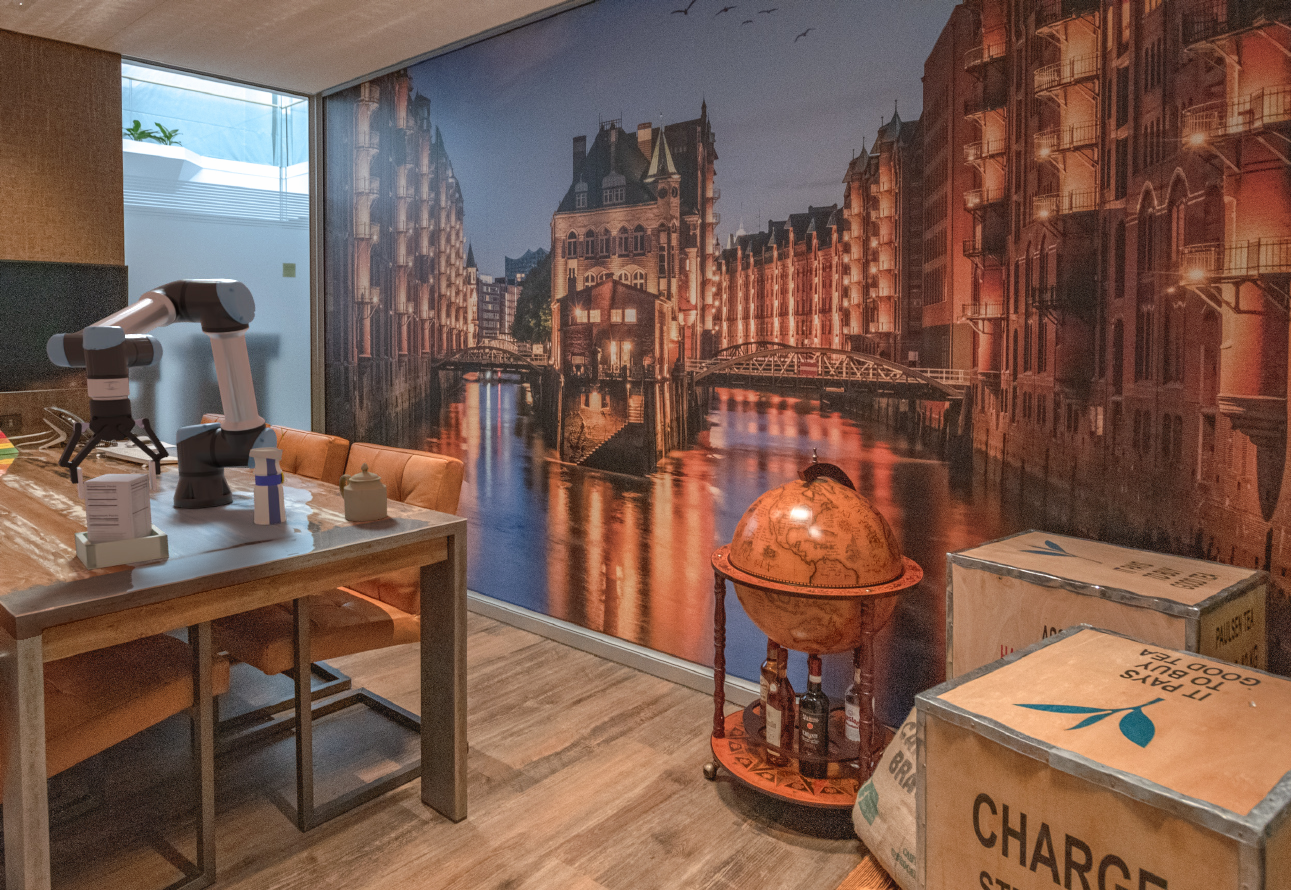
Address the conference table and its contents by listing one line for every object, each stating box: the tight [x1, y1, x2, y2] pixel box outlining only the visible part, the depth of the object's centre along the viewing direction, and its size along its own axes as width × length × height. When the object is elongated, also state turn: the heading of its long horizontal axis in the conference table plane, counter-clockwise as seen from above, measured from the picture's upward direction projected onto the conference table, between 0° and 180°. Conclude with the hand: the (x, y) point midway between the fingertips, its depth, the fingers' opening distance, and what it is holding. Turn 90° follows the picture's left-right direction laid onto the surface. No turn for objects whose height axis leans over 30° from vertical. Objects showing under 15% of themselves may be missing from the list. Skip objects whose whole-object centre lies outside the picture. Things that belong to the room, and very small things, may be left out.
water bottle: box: [249, 427, 287, 526], centre depth 212 cm, size 8×9×25 cm
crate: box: [74, 523, 170, 570], centre depth 179 cm, size 15×15×5 cm
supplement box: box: [83, 473, 153, 544], centre depth 178 cm, size 10×9×17 cm
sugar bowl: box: [338, 462, 388, 522], centre depth 219 cm, size 15×11×15 cm
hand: (118, 493), depth 178 cm, fingers open, 13 cm apart
